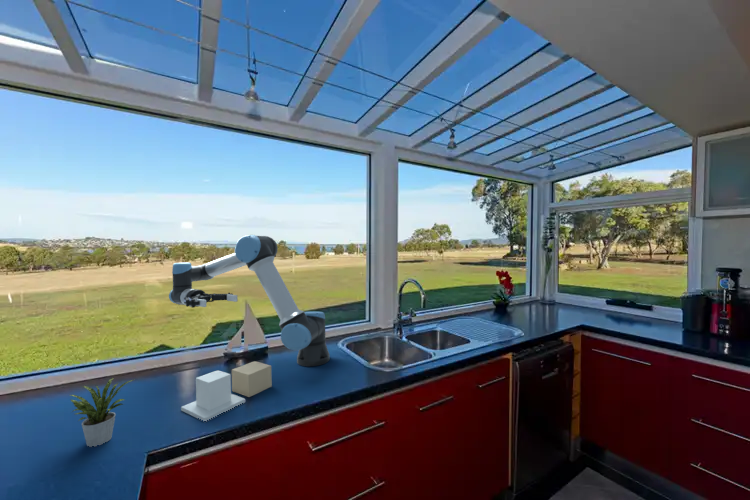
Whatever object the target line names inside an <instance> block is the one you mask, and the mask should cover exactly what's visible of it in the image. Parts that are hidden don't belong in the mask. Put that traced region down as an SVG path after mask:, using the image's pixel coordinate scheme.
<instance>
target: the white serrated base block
mask: <svg viewBox="0 0 750 500" xmlns="http://www.w3.org/2000/svg"><path fill="white" fill-rule="evenodd" d="M242 403H243V404H245V403H246V398H244V397H241V396H240V395H239V396H238V395H236V394H233V393H232V373H228V372H225V371H221V370H214V371H212V372H209V373H206V374H203V375H200V376H197V377H196V378H195V400H194V401H192V402H189V403H187V404H185V405H182V406H181V407H180V410H181V412H184V413H186V414H188V415H190V416H192V417H194V418H196V419H198V418H199V419H198V420H200V419H201V420H200V421H202V420H203V422H204V421H206V422H208V421H210V420H212V419H214V418H216V417H218V416H217V415H219V414H221V413H223V412H225V413H227V412H229V411H231V410H233V409H235V408H236V407H235V406H237V407H238V405H239V406H241V405H243V404H242ZM240 404H241V405H240ZM234 407H235V408H234ZM232 408H233V409H232ZM230 409H231V410H230ZM228 410H229V411H228ZM226 411H227V412H226ZM223 414H224V413H223ZM221 415H222V414H221ZM215 416H216V417H215ZM219 416H220V415H219ZM213 417H214V418H213ZM211 418H212V419H211ZM209 419H210V420H209ZM207 420H208V421H207Z"/></svg>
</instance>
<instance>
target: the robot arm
mask: <svg viewBox="0 0 750 500" xmlns="http://www.w3.org/2000/svg"><path fill="white" fill-rule="evenodd" d="M278 249H279V248H278V244H277V242H276V240H274V238H272V237H270V236H267V235H255V234H250V235H249V234H247V235H244V236H243V235H242V237H240V238H239V239H238V240H237V242H236V244H235V247H234V252H233V253H231V254H228V255H225V256H222V257H220V258H217V259H215V260H212V261H210V262H207V263H203V264H201V265H192V263H191V262H174V263H173V264H172V272H171V273H172V290H170V292H169V294H168V299H169V301H170V302H171V303H174V304H175V305H182V306H186V307H190V308H193V309H194V308H196V307H197V308H198V307H200V308H201V307H202V308H206V307H207V303H213V302H215V301H228V302H234V303H236V302H238V294H234V293H233V292H231V293H230V292H227V293H206V292H205V291H204V290H203V289H197V288H193V285H192V284H193V282H198V281H199V282H200V281H208V280H212V279H214V277H216V276H218V275H221V274H225V273H227V272H230V271H235V270H236V269H239V268H242V267H246V266H247V269H248V270H249V271H252V272H254V273H255V275H256V278H257V279H258V281H259V282H260V284H261V286H262V288H263V291H265V294H266V296H267V297H268V299H269V301H270V303H271V304H272V305H271V306H272V307H273V309H274V310H275V313H276V314H277V316H278V318H279V320H280V321H279V325H278V326H279V328H280V330H281V332H280V341H281V343H282V345H283V346H284V347H285V348H287V349H288V350H291V351H298V353H297V356H296V363H297V365H299V366H302V367H317V366H321V365H324V364H327V363H328V362H329V361H330V359H331V358H330V352H329V349H328V347H327V342H326V316H325V312H323V311H304V310H301V309H299V307H298V305H297V304H296V301H295V300H294V299H293V296H292V295H291V293H290V291H289V289H288V287H287V286H286V284H285V282H284V280H283V278H282V276H281V274H280V272H279V271H278V269H277V267H276V265H275V263H274V260H275V257H276V256H277V253H278Z"/></svg>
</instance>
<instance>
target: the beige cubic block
mask: <svg viewBox="0 0 750 500" xmlns="http://www.w3.org/2000/svg"><path fill="white" fill-rule="evenodd" d="M272 377H273V376H272V365H270V364H267V363H264V362H259V361H257V360H256V361H255V360H254V361H251V362H249V363H246V364H243V365H241V366H238V367H235V368H232V369H231V392H233V393H237V394H239V395H242V396H244V397H248V398H250V397H251V398H252V396H255V395H257V394H259V393H261V392H263V391H265V390H268V389H269V388H272V387H273V385H272V384H273V381H272Z"/></svg>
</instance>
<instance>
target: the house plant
mask: <svg viewBox="0 0 750 500" xmlns="http://www.w3.org/2000/svg"><path fill="white" fill-rule="evenodd" d="M113 380H114V377H112V378H111V379H109V380H108V381H107V383H106V384H105V385H104V388H103V390H102V393H101V391H100V388H99V386H98V385H95V387H96V389H97V391H96V390H95V389H94V388H92V387H89V386H86V385H82V387H83V388H84V389H86V390H87V391H88V392H89V393H90V395H91V398H92V400H93V402H94V406H95V407H94V406H93V405H92V404H91V403H90V402H88V400H87V399H85V398H84V397H82V396H79V395H76V394H70V396H72V397H75V398H76V399H78V400H75V399H70V402H72V404H73V405H74V408H75V407H76V408H75V409H73V410H72V411H71V413H73V412H74V411H75V412H76V411H80V412H76V413H75V415H86V416H87V417H85V416H84V417H83V416H82V417H80V418H79V419H78V420H77V422H79V421H82V422H81V428H82V431H83V435H84V439H85V443H86V446H87V447H88V446H89V447H88V448H93V447H92V446H94V447H98V446H97V445H99V446H102V445H104V444H105V442H106V443H107V442H108V441H110V440H111V439H112V436H113V432H114V428H115V427H114V426H115V421H116V415H117V414H116V412H112V411H111V410H113V409H115V408H117V407H120V406H122V405H123V406H124V405H125V404H124V403H120V402H123V401H125V399H124V398H119V399H116V400H115V401H114V402H112V404H110V403H111V401H112V400H113V398H114V397H115V396H117V394H118V393H119V392H121V389H122V388H123V386H125V385H126V384H128V383H130V382H133V381H134V379H131V380H128V381H125V382H124V383H122V384H121V385H119V383H115V384H113V385H112V387H111V384H112V381H113ZM118 385H119V386H118ZM117 386H118V387H117ZM110 387H111V389H110ZM116 387H117V388H116ZM109 389H110V392H109ZM108 393H109V395H108ZM101 394H102V395H101ZM107 395H108V396H107ZM109 405H110V406H109ZM103 443H104V444H103Z"/></svg>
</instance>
